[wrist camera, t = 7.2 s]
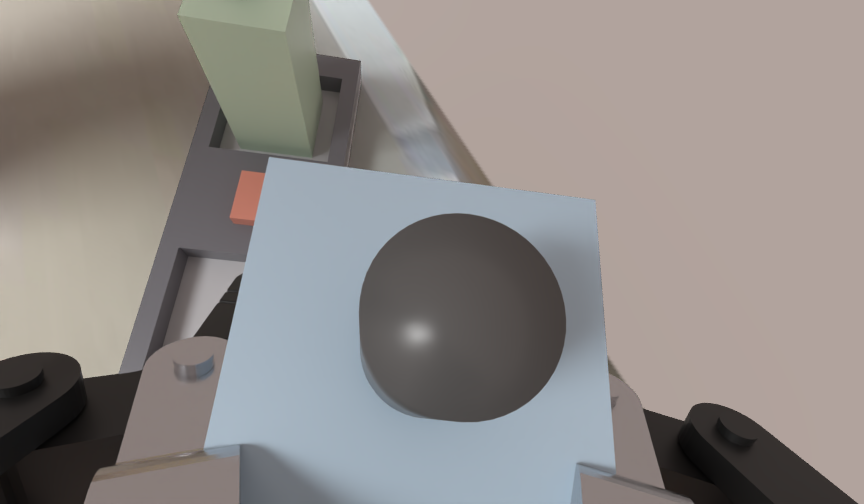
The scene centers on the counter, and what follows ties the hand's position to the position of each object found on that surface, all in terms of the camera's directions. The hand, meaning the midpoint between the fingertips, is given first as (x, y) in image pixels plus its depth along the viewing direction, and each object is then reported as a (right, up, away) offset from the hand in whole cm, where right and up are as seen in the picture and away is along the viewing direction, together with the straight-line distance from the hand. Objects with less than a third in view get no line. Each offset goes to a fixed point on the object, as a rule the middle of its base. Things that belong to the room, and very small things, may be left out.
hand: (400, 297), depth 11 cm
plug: (-1, -3, +4) cm, 5 cm away
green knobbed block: (-9, +10, +18) cm, 22 cm away
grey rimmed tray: (-10, +3, +17) cm, 19 cm away
